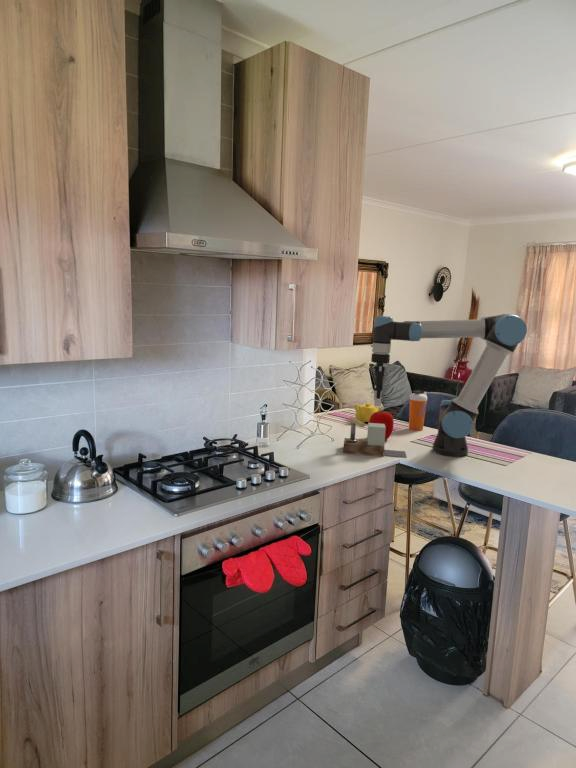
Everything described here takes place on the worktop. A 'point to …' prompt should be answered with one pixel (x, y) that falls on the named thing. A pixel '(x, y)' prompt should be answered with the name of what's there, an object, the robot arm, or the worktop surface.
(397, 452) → the mat
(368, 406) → the teapot
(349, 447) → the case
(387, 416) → the tomato
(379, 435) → the grey block
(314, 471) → the worktop surface
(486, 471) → the worktop surface
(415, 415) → the shaker bottle
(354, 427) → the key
